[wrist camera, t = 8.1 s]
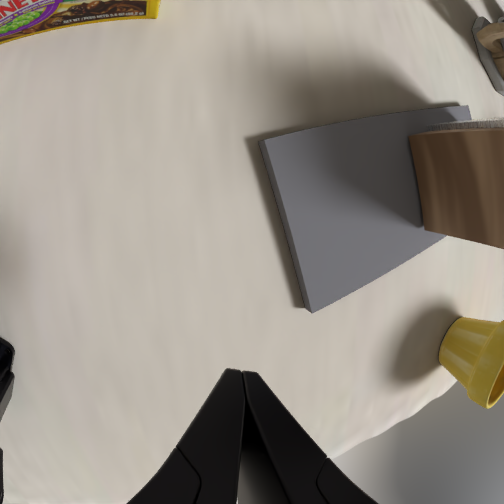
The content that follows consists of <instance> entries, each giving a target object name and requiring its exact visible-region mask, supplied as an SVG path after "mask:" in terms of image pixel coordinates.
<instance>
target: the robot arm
mask: <svg viewBox="0 0 504 504" xmlns="http://www.w3.org/2000/svg"><path fill="white" fill-rule="evenodd" d="M7 349H8V350H9V351H10V353H9V352H8V351H7ZM14 355H15V350H14V348H13V346H12V345H11V344H9V343H7V342H6V341H4V340H3V339H1V338H0V421H1V419H2V417H3V414H4V412H5V410H6V408H7V405H8V403H9V401H10V399H11V396H12V389H13V383H14V377H15V376H14V374H13V372H11V371H12V365H13V360H14ZM3 497H4V489H3V450H2V449H1V448H0V504H2V502H3ZM237 498H238V504H378V503H377V502H376V501H375V500H373V499H372V498H371V497H370V496H368V495H367V494H366V493H365V492H363V491H362V490H361V489H360V488H359V487H358V486H357V485H355V484H354V483H353V482H352V481H351V480H350V479H349V478H348V477H347V476H346V475H345V474H344V473H343V472H342V471H341V470H340V469H339V468H338V467H337V466H336V465H335V464H334V463H333V462H332V460H331V459H330V458H327V455H326V454H325V453H324V452H323V451H322V450H321V448H320V447H319V446H318V445H317V444H316V443H315V442H314V440H313V439H312V438H311V437H310V436H309V435H308V434H307V432H306V431H305V430H304V429H303V428H302V427H301V425H300V424H299V423H298V422H297V421H296V419H295V418H294V417H293V416H292V415H291V414H290V412H289V411H288V410H287V409H286V407H285V406H284V405H283V404H282V403H281V401H280V400H279V399H278V398H277V397H276V395H275V394H274V393H273V392H272V390H271V389H270V388H269V387H268V385H267V384H266V383H265V382H264V380H263V379H262V378H261V376H260V375H259V374H258V373H257V372H252V371H242V372H241V371H240V370H237V369H230V368H227V369H225V371H224V372H223V374H222V375H221V377H220V379H219V380H218V382H217V383H216V385H215V387H214V388H213V390H212V391H211V393H210V394H209V396H208V398H207V399H206V401H205V402H204V404H203V405H202V407H201V409H200V410H199V412H198V413H197V415H196V416H195V418H194V419H193V421H192V422H191V424H190V426H189V427H188V429H187V430H186V432H185V433H184V435H183V436H182V438H181V439H180V441H179V442H178V444H177V445H176V448H174V449H173V451H172V452H171V454H170V455H169V457H168V458H167V460H166V461H165V462H164V464H163V465H162V466H161V468H160V469H159V470H158V472H157V473H156V474H155V475H154V476H153V477H152V478H151V480H150V481H149V482H148V483H147V484H146V485H145V486H144V487H143V488H142V489H141V490H140V491H139V492H138V493H137V494H136V495H135V496H134V497H133V498H132V499H131V500H130V501H129V502H128V503H127V504H236V502H237Z"/></svg>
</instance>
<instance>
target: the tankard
mask: <svg viewBox="0 0 504 504" xmlns="http://www.w3.org/2000/svg"><path fill="white" fill-rule="evenodd" d="M472 33H473V36H474V39H475V42H476V46H477V49H478V53H479V56H480V60H481V62H482V64H483V66H484V68H485V70H486V71H487V73H488V75H489V77H490V79H491V81H492V83H493V85H494V87H495V90H496V91H497V92H499V93H500V94H502V95H503V96H504V16H503V17H499V19H498V22H496V23H490V22H489V21H488V20H487V19H486V18H484V17H479V18H476V21H475V23H474V25H473V28H472Z"/></svg>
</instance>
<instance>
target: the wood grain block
mask: <svg viewBox="0 0 504 504" xmlns="http://www.w3.org/2000/svg"><path fill="white" fill-rule="evenodd" d="M408 137H409V141H410V146H411V150H412V155H413V160H414V165H415V170H416V175H417V181H418V187H419V193H420V199H421V206H422V214H423V222H424V230H425V231H430V232H435V233H439V234H444V235H448V236H452V237H457V238H461V239H465V240H469V241H474V242H478V243H482V244H486V245H490V246H494V247H497V248H501V249H504V127H497V128H471V129H454V130H441V131H430V132H424V133H419V134H415V135H410V136H408Z"/></svg>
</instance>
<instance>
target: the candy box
mask: <svg viewBox="0 0 504 504" xmlns="http://www.w3.org/2000/svg"><path fill="white" fill-rule="evenodd" d="M160 1H161V0H0V44H2V43H5V42H9V41H12V40H15V39H19V38H22V37H26V36H30V35H34V34H38V33H42V32H46V31H51V30H56V29H60V28H66V27H71V26H77V25H83V24H90V23H97V22H105V21H115V20H127V19H156V18H157V16H158V11H159V6H160Z"/></svg>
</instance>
